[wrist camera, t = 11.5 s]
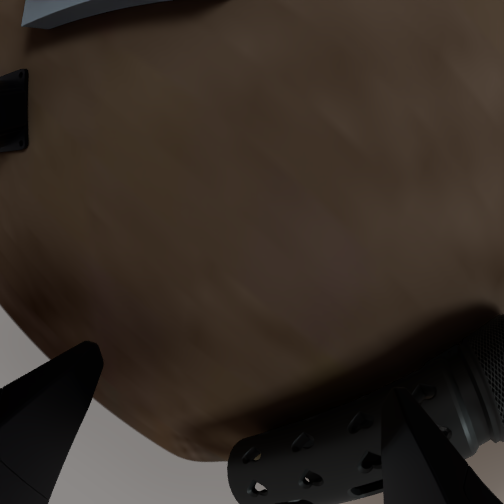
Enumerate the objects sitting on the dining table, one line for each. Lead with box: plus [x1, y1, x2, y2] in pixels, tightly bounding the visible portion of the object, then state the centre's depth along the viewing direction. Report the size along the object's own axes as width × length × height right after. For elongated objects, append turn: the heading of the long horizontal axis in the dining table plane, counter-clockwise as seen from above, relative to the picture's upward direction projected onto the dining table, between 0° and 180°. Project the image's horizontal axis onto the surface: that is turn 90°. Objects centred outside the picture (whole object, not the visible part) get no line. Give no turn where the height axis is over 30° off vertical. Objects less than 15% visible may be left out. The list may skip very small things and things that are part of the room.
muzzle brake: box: [227, 314, 504, 504], centre depth 20 cm, size 10×28×10 cm, turn 130°
